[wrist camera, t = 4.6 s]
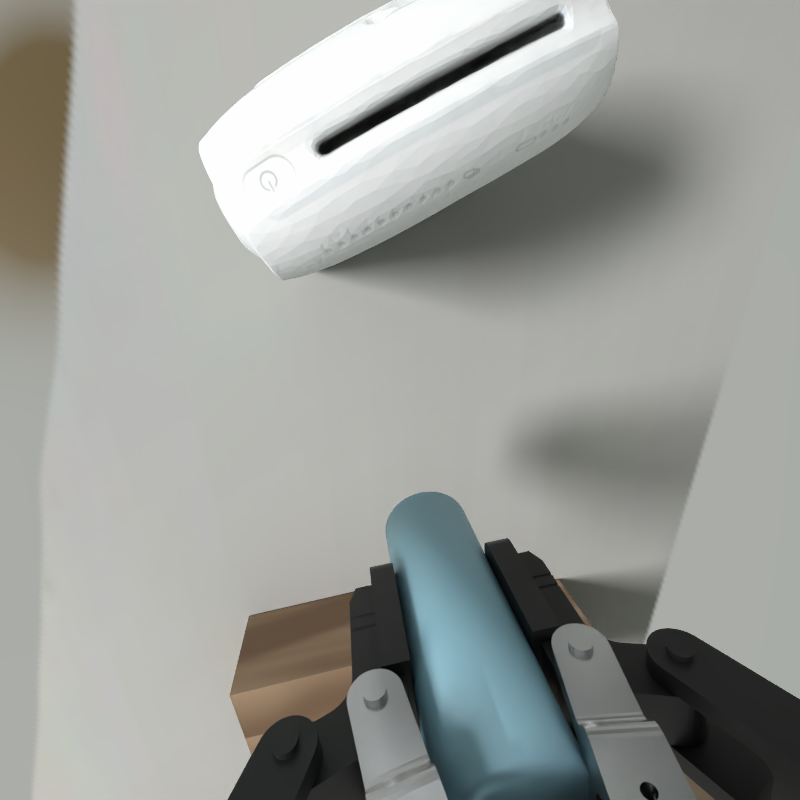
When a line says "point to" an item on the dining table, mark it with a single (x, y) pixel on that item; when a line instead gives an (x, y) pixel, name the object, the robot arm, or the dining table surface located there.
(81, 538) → the dining table surface
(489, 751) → the peg
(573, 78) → the photo printer
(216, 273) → the dining table surface
